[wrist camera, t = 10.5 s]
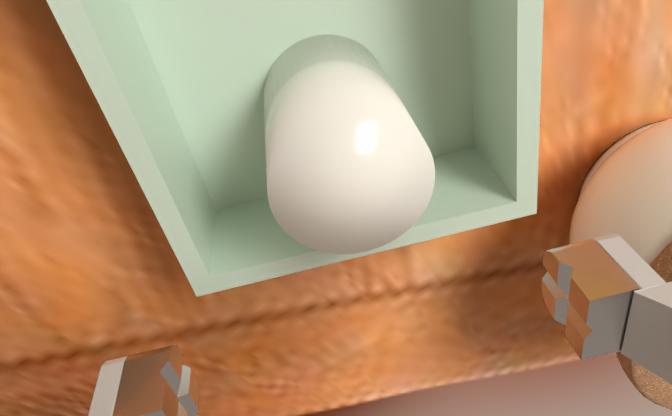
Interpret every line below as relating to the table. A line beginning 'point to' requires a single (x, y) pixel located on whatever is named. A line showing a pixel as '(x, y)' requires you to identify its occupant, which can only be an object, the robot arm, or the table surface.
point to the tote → (248, 112)
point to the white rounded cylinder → (341, 149)
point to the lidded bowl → (633, 217)
